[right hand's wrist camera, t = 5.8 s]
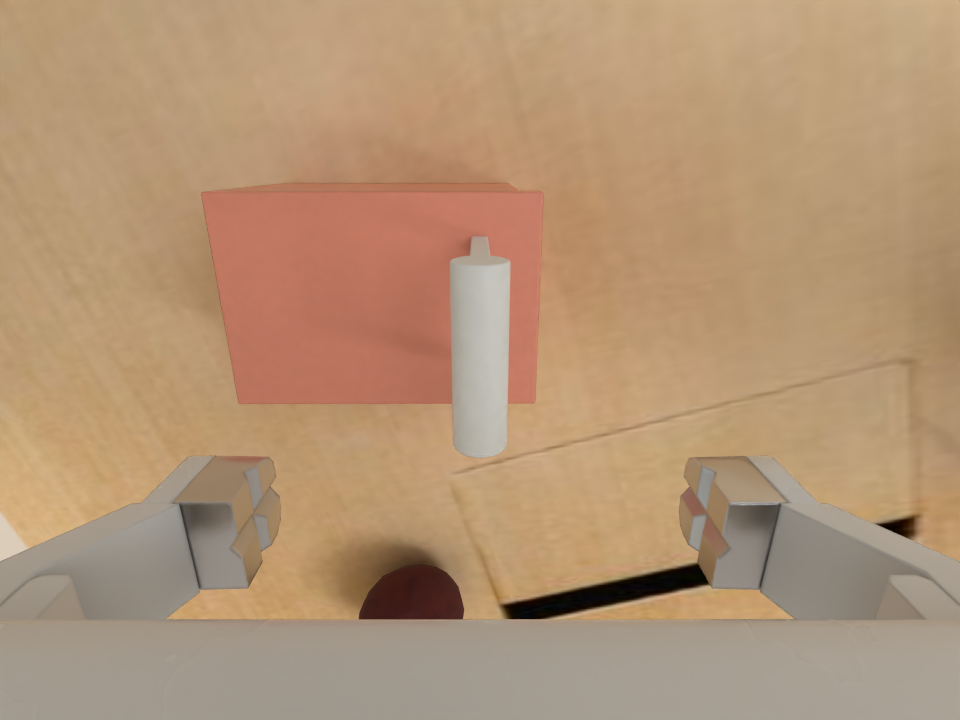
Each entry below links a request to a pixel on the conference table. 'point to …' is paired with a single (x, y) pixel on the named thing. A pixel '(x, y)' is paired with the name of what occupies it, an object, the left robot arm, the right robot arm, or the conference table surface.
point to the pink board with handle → (383, 300)
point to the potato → (414, 596)
